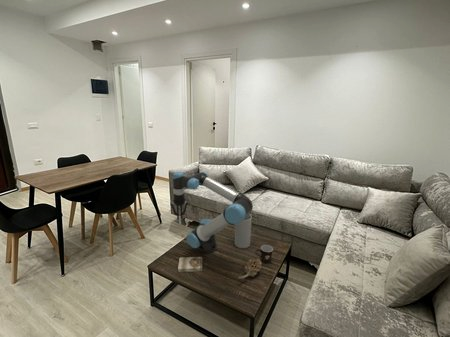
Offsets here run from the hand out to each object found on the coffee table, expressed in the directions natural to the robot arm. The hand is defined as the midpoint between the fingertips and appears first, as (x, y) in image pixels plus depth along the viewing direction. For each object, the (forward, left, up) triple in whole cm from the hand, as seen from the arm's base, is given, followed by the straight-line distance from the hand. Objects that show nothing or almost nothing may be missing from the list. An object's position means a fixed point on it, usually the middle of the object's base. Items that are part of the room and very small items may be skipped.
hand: (180, 223), depth 179 cm
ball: (-12, +19, -21) cm, 31 cm away
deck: (-8, +19, -23) cm, 31 cm away
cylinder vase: (-48, -5, -23) cm, 54 cm away
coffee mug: (-61, +15, -23) cm, 67 cm away
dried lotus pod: (-48, +31, -23) cm, 62 cm away
